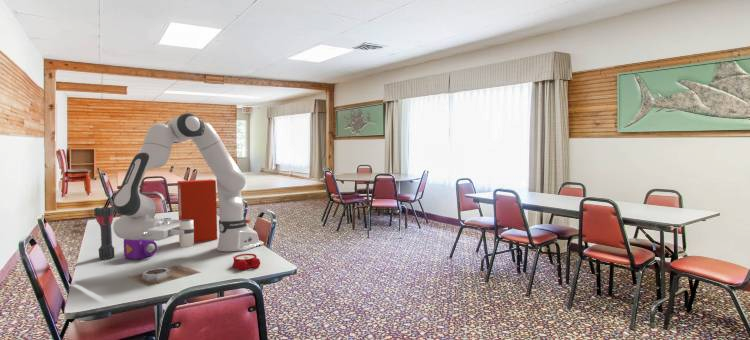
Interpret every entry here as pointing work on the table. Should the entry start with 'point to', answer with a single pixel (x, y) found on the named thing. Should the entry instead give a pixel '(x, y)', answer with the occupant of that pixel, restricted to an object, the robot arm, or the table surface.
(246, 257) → the alarm clock
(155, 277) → the ring
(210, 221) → the file binder
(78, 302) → the table surface
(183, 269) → the walnut mount plate
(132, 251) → the toy camera
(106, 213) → the flashlight
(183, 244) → the white lens
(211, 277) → the table surface
